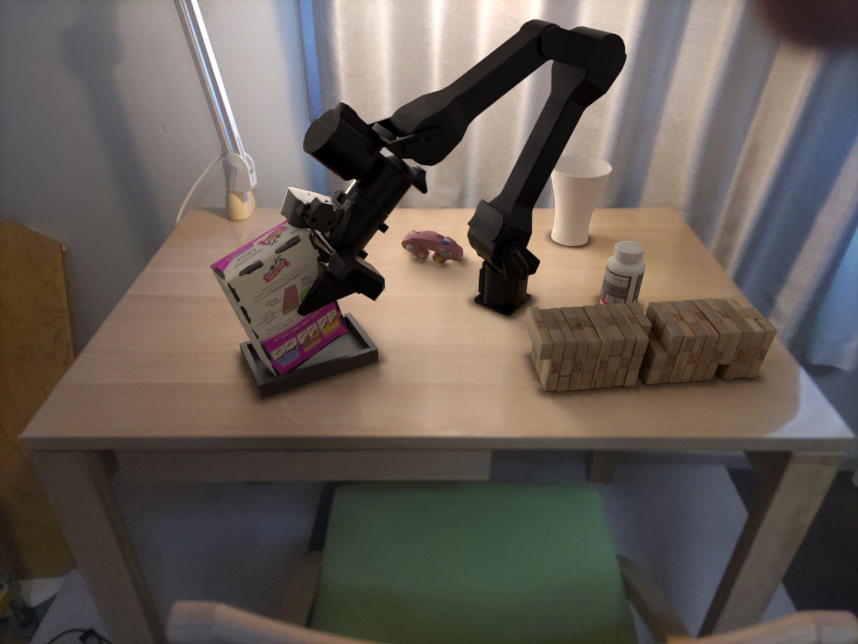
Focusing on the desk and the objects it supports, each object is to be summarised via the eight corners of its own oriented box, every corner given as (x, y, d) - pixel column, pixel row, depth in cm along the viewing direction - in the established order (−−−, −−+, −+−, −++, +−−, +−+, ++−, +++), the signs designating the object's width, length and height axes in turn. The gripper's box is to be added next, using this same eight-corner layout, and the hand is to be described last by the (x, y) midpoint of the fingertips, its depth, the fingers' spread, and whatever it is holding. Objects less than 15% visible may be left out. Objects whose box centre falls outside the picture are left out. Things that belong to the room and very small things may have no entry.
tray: (351, 323, 86) (350, 312, 85) (378, 361, 79) (378, 349, 78) (241, 355, 80) (239, 343, 79) (261, 398, 73) (258, 386, 72)
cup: (530, 242, 107) (539, 169, 99) (553, 220, 114) (562, 150, 107) (587, 257, 102) (600, 182, 95) (607, 234, 110) (621, 162, 102)
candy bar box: (328, 315, 82) (290, 215, 71) (349, 331, 79) (313, 229, 68) (259, 362, 78) (206, 263, 66) (278, 382, 75) (227, 281, 63)
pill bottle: (621, 292, 93) (634, 235, 88) (643, 310, 89) (658, 252, 84) (591, 298, 92) (603, 241, 86) (612, 317, 88) (625, 258, 82)
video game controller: (403, 264, 103) (395, 239, 97) (413, 243, 105) (405, 217, 99) (458, 275, 100) (452, 250, 94) (466, 254, 102) (461, 228, 96)
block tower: (724, 347, 83) (518, 355, 80) (744, 296, 79) (526, 301, 75) (755, 384, 77) (532, 394, 74) (779, 331, 72) (542, 338, 69)
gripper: (292, 138, 73) (219, 240, 75) (351, 192, 60) (259, 315, 62) (357, 187, 81) (289, 278, 83) (422, 245, 67) (338, 352, 69)
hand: (292, 302), depth 74 cm, fingers closed on candy bar box, 5 cm apart
